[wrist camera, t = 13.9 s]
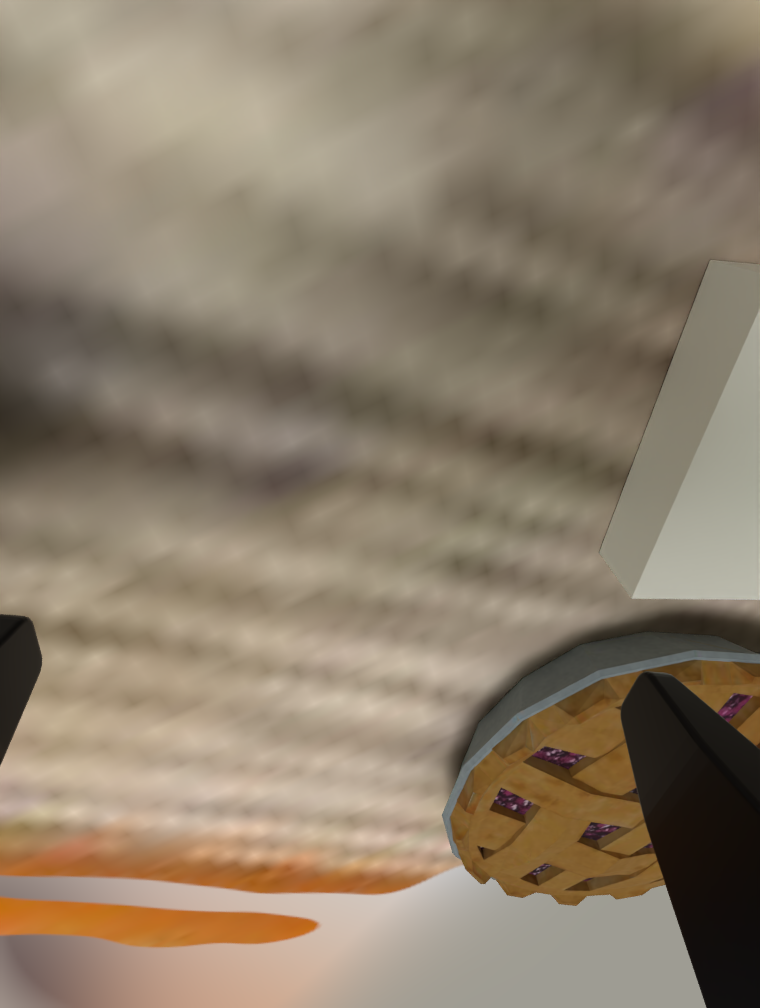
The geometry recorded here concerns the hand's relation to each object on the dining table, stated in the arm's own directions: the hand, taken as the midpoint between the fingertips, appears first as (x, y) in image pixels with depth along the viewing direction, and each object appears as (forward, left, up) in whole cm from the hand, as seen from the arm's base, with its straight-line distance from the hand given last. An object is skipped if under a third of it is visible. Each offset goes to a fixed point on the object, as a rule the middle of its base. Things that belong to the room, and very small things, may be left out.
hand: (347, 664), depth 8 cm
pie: (+16, -23, -13) cm, 31 cm away
